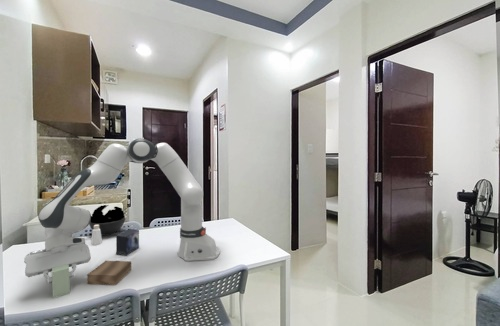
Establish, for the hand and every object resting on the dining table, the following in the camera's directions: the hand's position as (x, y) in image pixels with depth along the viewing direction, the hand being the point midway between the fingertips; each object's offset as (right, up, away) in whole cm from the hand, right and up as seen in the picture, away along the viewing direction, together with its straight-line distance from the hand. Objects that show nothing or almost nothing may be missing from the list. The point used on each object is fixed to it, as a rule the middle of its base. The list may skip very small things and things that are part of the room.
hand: (60, 279), depth 90 cm
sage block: (-1, -5, +1) cm, 5 cm away
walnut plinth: (+12, -5, +13) cm, 18 cm away
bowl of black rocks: (-19, -1, +61) cm, 64 cm away
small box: (+6, -3, +38) cm, 38 cm away
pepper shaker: (-16, -2, +46) cm, 49 cm away
